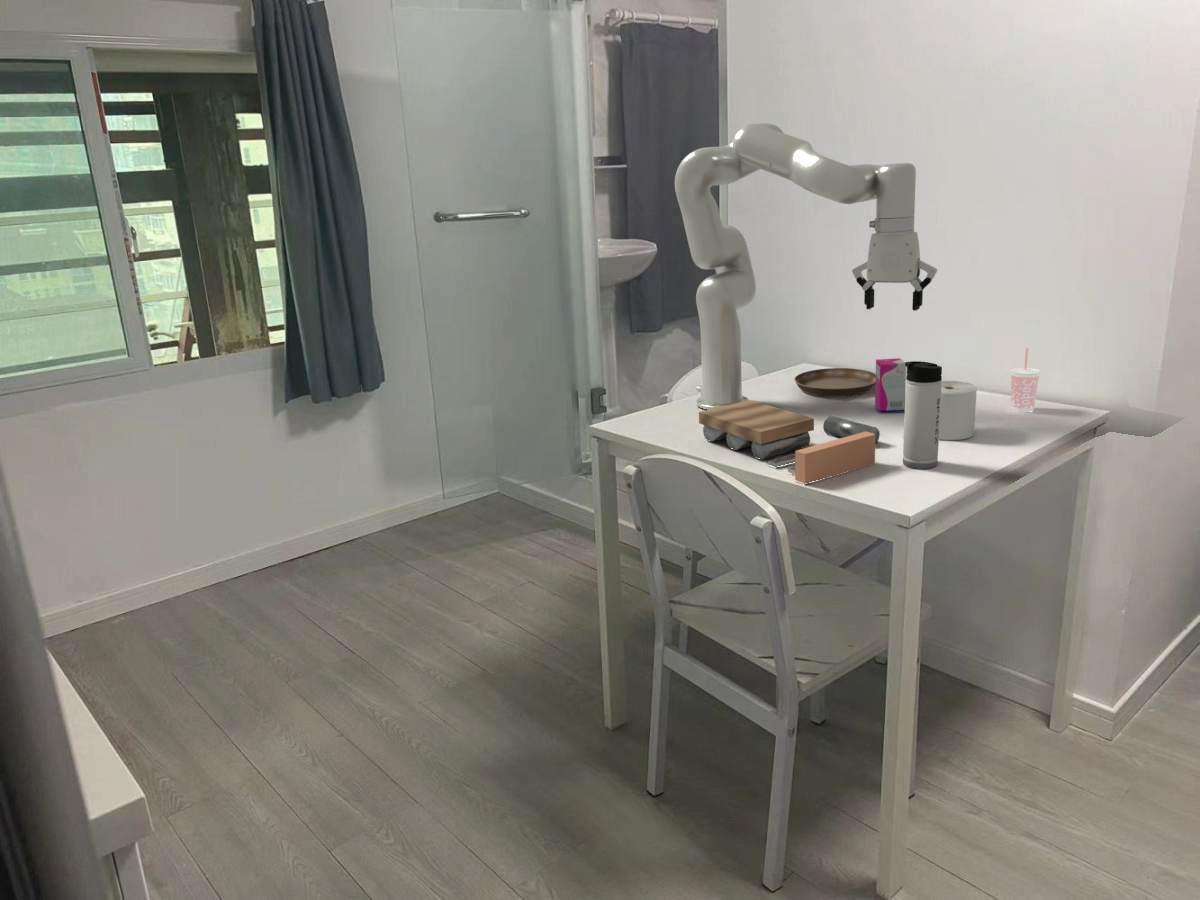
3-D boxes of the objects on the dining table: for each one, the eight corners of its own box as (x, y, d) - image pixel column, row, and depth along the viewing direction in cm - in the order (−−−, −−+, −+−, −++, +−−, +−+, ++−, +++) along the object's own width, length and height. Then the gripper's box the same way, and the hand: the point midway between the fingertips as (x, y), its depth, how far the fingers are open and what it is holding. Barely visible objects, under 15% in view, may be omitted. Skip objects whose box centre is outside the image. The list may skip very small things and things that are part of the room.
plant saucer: (836, 405, 219) (837, 391, 218) (777, 390, 236) (777, 377, 235) (896, 389, 230) (896, 376, 229) (835, 376, 246) (835, 364, 245)
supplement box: (899, 405, 215) (901, 357, 211) (905, 412, 209) (907, 363, 206) (874, 406, 215) (875, 358, 212) (878, 413, 210) (880, 364, 206)
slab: (699, 423, 197) (698, 412, 196) (749, 410, 204) (749, 400, 203) (760, 444, 180) (760, 432, 180) (813, 430, 187) (814, 418, 186)
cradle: (768, 466, 180) (768, 461, 180) (821, 451, 187) (821, 446, 186) (795, 476, 174) (795, 470, 173) (849, 460, 180) (849, 455, 180)
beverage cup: (1007, 413, 204) (1012, 350, 200) (1007, 405, 209) (1011, 345, 205) (1037, 414, 202) (1043, 351, 197) (1036, 406, 207) (1042, 345, 203)
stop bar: (795, 481, 171) (795, 450, 169) (864, 460, 179) (865, 431, 178) (804, 485, 169) (804, 454, 167) (874, 463, 177) (875, 434, 176)
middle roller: (726, 447, 192) (726, 429, 191) (770, 436, 198) (770, 418, 196) (738, 452, 189) (738, 433, 187) (783, 440, 194) (783, 422, 193)
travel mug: (895, 460, 178) (899, 359, 172) (928, 457, 179) (933, 356, 173) (908, 471, 172) (913, 366, 166) (943, 467, 173) (948, 363, 167)
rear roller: (703, 439, 199) (702, 421, 197) (746, 428, 204) (746, 411, 203) (714, 443, 195) (714, 425, 194) (758, 432, 201) (758, 414, 200)
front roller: (751, 456, 185) (751, 437, 184) (796, 444, 191) (796, 426, 190) (764, 461, 182) (764, 442, 181) (810, 449, 188) (810, 430, 187)
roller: (821, 433, 197) (825, 415, 196) (835, 433, 199) (838, 415, 198) (864, 446, 187) (867, 426, 186) (877, 446, 189) (881, 427, 188)
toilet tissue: (978, 440, 187) (982, 393, 184) (916, 441, 189) (919, 393, 186) (968, 425, 197) (971, 380, 194) (909, 426, 199) (911, 381, 196)
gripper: (847, 228, 191) (846, 310, 196) (933, 226, 182) (930, 313, 187) (859, 225, 197) (858, 305, 202) (943, 223, 188) (939, 307, 193)
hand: (892, 308), depth 195 cm, fingers open, 9 cm apart
